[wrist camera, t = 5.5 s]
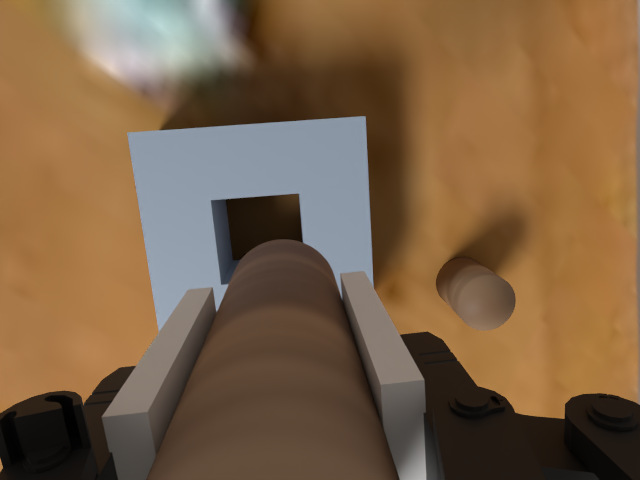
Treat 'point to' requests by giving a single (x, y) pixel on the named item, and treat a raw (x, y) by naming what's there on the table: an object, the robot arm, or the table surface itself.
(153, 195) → the socket block
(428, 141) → the table surface
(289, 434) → the long dowel
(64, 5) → the table surface
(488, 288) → the short dowel
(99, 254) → the table surface
